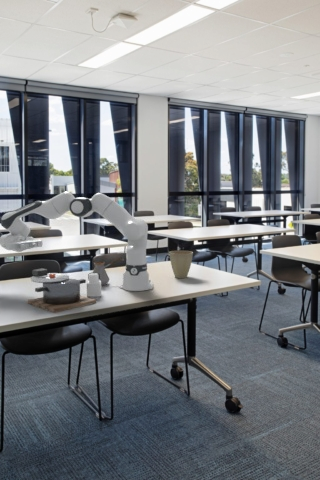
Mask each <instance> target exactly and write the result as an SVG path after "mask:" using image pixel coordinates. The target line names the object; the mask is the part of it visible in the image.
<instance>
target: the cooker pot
mask: <svg viewBox="0 0 320 480" xmlns="http://www.w3.org/2000/svg"><path fill="white" fill-rule="evenodd" d="M81 284H87V281H86V279H84V278H81V279H76V278H69V279H68V280H65V281H61V282H55V283H42V286H39V287H35V289H34V291H35V292H36V293H41V292H42V297H43V302H44V303H46V304H51V305H65V304H72V303H76V302H78V301H80V295H81Z"/></svg>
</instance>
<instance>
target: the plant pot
mask: <svg viewBox="0 0 320 480" xmlns="http://www.w3.org/2000/svg"><path fill="white" fill-rule="evenodd" d="M168 252H169V259H170V260H169V261H170V265H171V269H172V272H173V275H174V278H176V279H185V278H187V276H188V274H189V272H190V269H191V265H192V260H193V255H194V252H193V251H191V250H190V251H189V250H171V251H168Z"/></svg>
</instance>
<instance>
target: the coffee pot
mask: <svg viewBox="0 0 320 480" xmlns="http://www.w3.org/2000/svg"><path fill="white" fill-rule="evenodd" d="M120 260H122V261H124V258H123V256H122V257H120V258H117V259H114V260H113V261H111V262H110V263H109V264H106V263H105V261H96V262H93V265H94V268H93V270H92V273H93V272H96V273H99V274H100V281H101V287H103V286H106V285H107V284H108V283H109V282H110V277H109V276H108V273H107V271H106V268H107V267H109V266H110V265H114V264H115V263H117V262H118V261H120ZM105 264H106V265H105Z"/></svg>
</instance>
